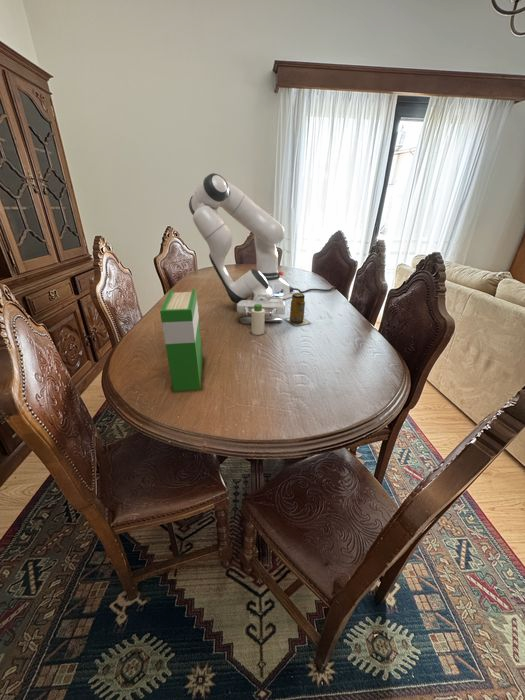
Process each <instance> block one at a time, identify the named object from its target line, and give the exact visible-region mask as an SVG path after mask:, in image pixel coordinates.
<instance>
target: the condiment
mask: <svg viewBox="0 0 525 700" xmlns="http://www.w3.org/2000/svg"><path fill="white" fill-rule="evenodd" d="M305 297H306V295H305V294H304V293H300V292H295V293H294V292H293V295H292V297H291V300H290V308H289V309H290V312H289V318H285V320H286V321H287V322H289V323H290V324H292V325H294V326H303V325H308V324H310V322H308V321H307V320H305V319H304V317H305V308H306V301H305Z"/></svg>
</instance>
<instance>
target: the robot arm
mask: <svg viewBox="0 0 525 700" xmlns="http://www.w3.org/2000/svg"><path fill="white" fill-rule="evenodd" d="M188 208H189V211H190V214H191V215H192V220H193V223H194V225H195V227H196V228H197V230H198V232H199V234H200V235H201V237H202V238H203V239H204V241H205V242H206V244H207V245H208V248H209V254H208V258H209V260H210V263H211V265H212V267H213V268H214V270H215V272H216V275H217V276H218V277H219V280H220V281H221V284H222V285H223V287H224V289H225V291H226V293H227V295H228V297H229V299H230V300H231V301H232V302H233V303H234V304H236V313H238V314H244V315H245V316H250V315H251V310H252V309H254V305H255V304H261V305H262V309H264V310H265V315H269V317H274V316H275V315H280V316H281V315H285V314H286V304H285V301H284V300H287V299H291V298H292V295H293V294H294V291H298V293H301V294H304V293H307V292H311V291H320V292H330V291H332V290H333V289H334V290H337V287H336V286H332V287H330V288H329V289H327V288H325V289H324V288H309V289H306V290H301V289H299V288H297V287H293V286H290V285H289V283H288V282H287V281H285V280H284V279H283V278H282V277H283V276H284V274H285V273H284V272H283V271H279V270H278V269H279V268H278V267H279V266H278V265H279V254H278V251H277V245H278V244H280V243H281V242H282V241H283V240H284V238H285V234H286V233H285V228H284V226H283V225H282V224H281V223H280V222H279V221H278V220H277V219H275V218H274V217H273V216H272V215H270V214H269V213H268V212H266V211H265V210H264V209H262V208H261V207H260V206H259V205H258V204H256V203H255V202H254V201H253V200H252V199H251V198H249V196H247V195H246V194H245V193H244V192H243V191H242V190H241V189H239V188H238V186H236V185H234V184H232V183H231V182H229V181H227V180H226V179H225V177H223V176H221V175H220V174H219V173H215V172H212V173H210V174H208V175H206V176H205V177H204V179H203V180H202V181H201V182H200V183H199V184H198V185H197V187H196V189H195V191H194V192H193V194H192V196H191V197H190V199H189V201H188ZM219 208H222V209H223V210H224V211H225V212H226V213H227V214H228V215H229V216H231V218H233V219H234V220H235V221H236V222H238V223H239V224H240V225H241V226H242V227H244V228H245V229H247V230H248V231H250V232H251V233H252V235H253V241H254V249H255V254H256V255H255V256H256V268H251V269H249V270H248V271H247V272H246V273H244V274H243V275H242V276H240V277H239V278H238V279H236V280H235V281H234V280H233V279H232V277H231V275H230V273H229V271H228V269H227V268H226V265H225V261H226V257H227V256H228V253H229V251H230V250H231V248H232V246H233V241H234V238H233V233H232V231H231V230H230V228H229V227H228V225H227V224H226V222H225V221H224V220H223V219H222V217H221V216H220V215H219V213H218V209H219ZM252 296H253V297H252ZM250 297H252V299H249V298H250Z"/></svg>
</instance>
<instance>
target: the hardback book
mask: <svg viewBox="0 0 525 700" xmlns="http://www.w3.org/2000/svg"><path fill="white" fill-rule="evenodd" d="M197 295H198V294H197V289H196V288H193V289H192V291H183V292H175V290H174V289H169V292H168V293H167V296H166V298H165V300H164V302H163V304H162V306H161V308H160V310H159V313H160V319H161V325H162V332H163V336H164V337H163V338H164V343H165V349H166V355H167V360H168V361H167V362H168V367H169V372H170V378H171V383H172V384H171V385H172V391H173V392H185V391H186V392H187V391H199V390H201V388H202V375H203V363H204V356H203V347H202V346H203V345H202V335H201V325H200V315H199V305H198V296H197Z"/></svg>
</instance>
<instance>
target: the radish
mask: <svg viewBox="0 0 525 700" xmlns="http://www.w3.org/2000/svg"><path fill="white" fill-rule="evenodd" d="M250 315H251V324H250V325H251V334H253V335H254V336H260V335H264V334H265V323H266V322H265V319H266V318H265V317H266V316H265V315H266V314H265V310H264V309H262V305H261V304H255V305H254V309H252V310H251V313H250Z"/></svg>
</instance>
